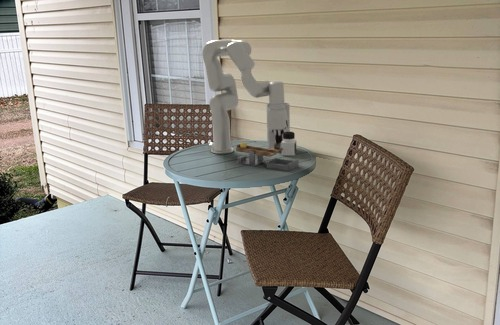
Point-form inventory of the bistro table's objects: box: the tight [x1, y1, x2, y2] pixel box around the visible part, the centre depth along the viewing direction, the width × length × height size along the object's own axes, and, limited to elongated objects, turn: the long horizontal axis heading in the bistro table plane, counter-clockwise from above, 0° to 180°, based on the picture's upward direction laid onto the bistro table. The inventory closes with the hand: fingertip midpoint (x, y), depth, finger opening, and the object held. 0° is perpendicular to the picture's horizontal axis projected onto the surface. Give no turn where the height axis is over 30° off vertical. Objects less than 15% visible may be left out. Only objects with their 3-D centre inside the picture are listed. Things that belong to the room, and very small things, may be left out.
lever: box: [235, 142, 283, 158], centre depth 258 cm, size 20×16×4 cm
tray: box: [266, 157, 300, 172], centre depth 248 cm, size 13×10×4 cm
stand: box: [235, 151, 266, 167], centre depth 257 cm, size 12×9×7 cm
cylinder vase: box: [266, 102, 291, 152], centre depth 282 cm, size 12×12×25 cm
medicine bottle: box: [281, 130, 297, 157], centre depth 271 cm, size 7×7×12 cm
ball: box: [239, 141, 248, 148], centre depth 258 cm, size 4×4×4 cm
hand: (278, 142), depth 259 cm, fingers closed
